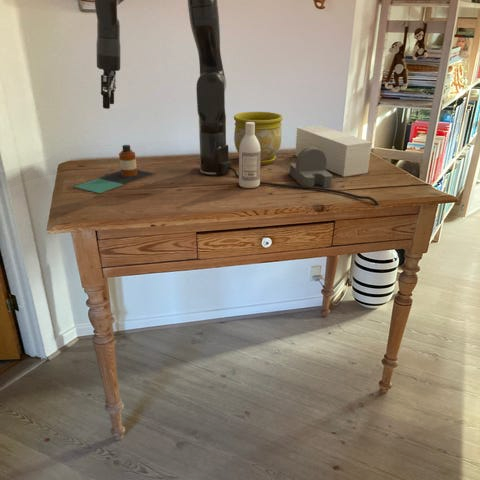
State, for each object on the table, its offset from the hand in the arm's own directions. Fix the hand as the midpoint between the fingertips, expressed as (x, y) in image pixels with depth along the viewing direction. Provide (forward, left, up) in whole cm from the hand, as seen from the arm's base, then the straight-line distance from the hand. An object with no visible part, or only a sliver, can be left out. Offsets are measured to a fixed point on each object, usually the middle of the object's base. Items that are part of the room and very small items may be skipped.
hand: (108, 106), depth 177 cm
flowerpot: (-36, -40, -22) cm, 58 cm away
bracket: (-64, -29, -22) cm, 73 cm away
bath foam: (-50, -12, -22) cm, 55 cm away
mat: (-9, +9, -22) cm, 25 cm away
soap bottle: (-9, +2, -22) cm, 23 cm away
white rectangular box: (-61, -51, -22) cm, 82 cm away
